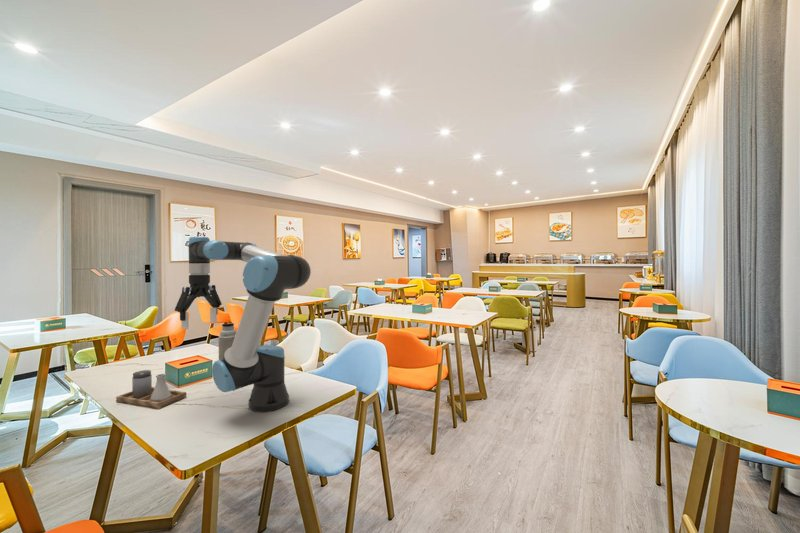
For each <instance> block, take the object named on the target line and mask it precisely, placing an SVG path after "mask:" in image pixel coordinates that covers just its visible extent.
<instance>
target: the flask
mask: <svg viewBox="0 0 800 533" xmlns="http://www.w3.org/2000/svg"><path fill="white" fill-rule="evenodd" d="M166 376H167V374H166V373H160V374H157V375H155V378H156V383H155V386H154V391H153V393H152V396H151V398H150V401H153V402H161V401H164V400H166V399H169V398H171V397H172V395H171V393H170V391H169V390H170V389H169V386H168V384H167V382H166V381H167V380H166Z"/></svg>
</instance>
